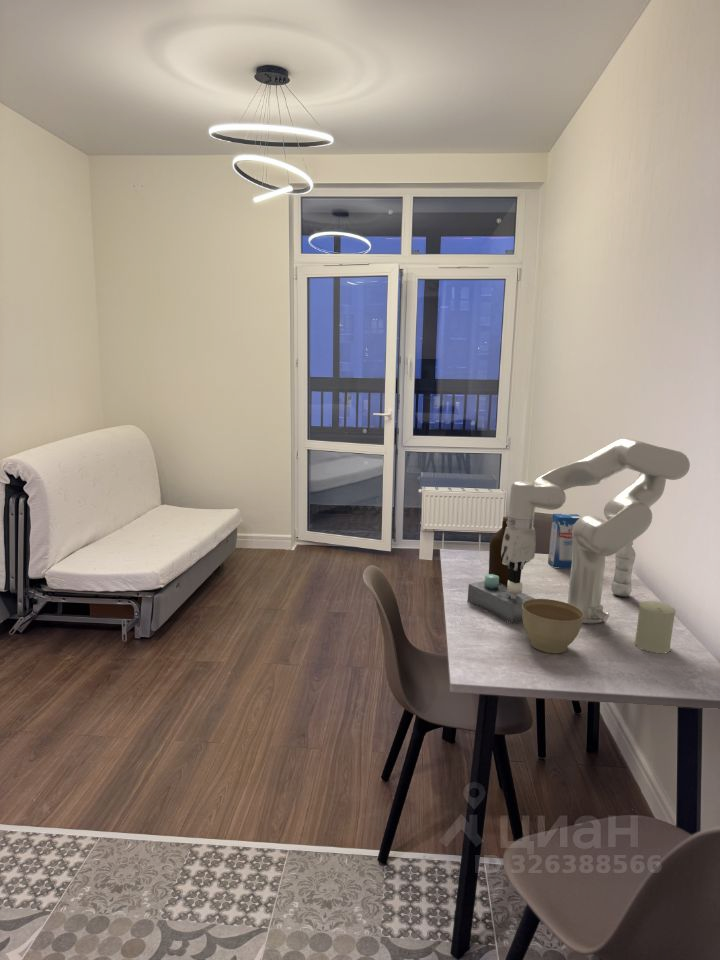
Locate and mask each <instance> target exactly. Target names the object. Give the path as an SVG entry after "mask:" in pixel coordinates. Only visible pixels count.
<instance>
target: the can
mask: <svg viewBox="0 0 720 960" xmlns="http://www.w3.org/2000/svg"><path fill="white" fill-rule="evenodd" d="M676 611H677V610H676V609H675V608H674V607H672V606H671V605H669V604H667V603H666V604H665V603H662V602H658V601H652V600H651V601H642V602H640V603H639V608H638V618H637V624H636V625H637V626H636V631H635V632H636V633H635V639H634V645H635V646H636V645H637V646H638V647H639V648H638V647H637V646H636V647H637V648H638V649H640V648H642V649H644V650H643V651H645V650H647V651H646V652H648V651H651V652H650V653H652V652H657V653H656V654H659V653H663V654H666V653H665V652H668V653H669V651H670V652H671V645H672V644H671V643H672V635H673V628H674V622H675V615H676ZM642 649H641V650H642Z"/></svg>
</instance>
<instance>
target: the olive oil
mask: <svg viewBox="0 0 720 960" xmlns="http://www.w3.org/2000/svg"><path fill="white" fill-rule="evenodd" d="M507 521H508V516H502V524H501V526H502V527H501V528H500V529H499V530H498V531H496V532H495V533H494V534H493V535H492V537H491V538H490V541H489V547H488V548H489V549H488V550H489V551H488V552H489V553H488V557H489V559H488V574H493V575H497V576H499V583H501V584H503V585H505V586H507V585H508V580H509V572H510V568H508V565H504V564H502V561H503V558H502V557H501V550H502V543H503V537H504V533H505V530H506V527H507V523H506V522H507Z"/></svg>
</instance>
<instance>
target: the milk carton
mask: <svg viewBox="0 0 720 960" xmlns="http://www.w3.org/2000/svg"><path fill="white" fill-rule="evenodd" d="M551 517H552V519H551V527H550V528H551V529H550V538H549V547H548V559H547V564H548V563H549V564H548V565H550V567H552V566H553V567H559V568H558V569H571V565H572V557H573V540H572V532H573V527H574V524H575V523H576V521H577V520H578V519H579V518H581V517H582V516H581V515H579V514H576V513H575V514H574V513H573V514H572V513H552V516H551ZM553 567H552V568H553Z"/></svg>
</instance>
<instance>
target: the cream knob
mask: <svg viewBox="0 0 720 960" xmlns="http://www.w3.org/2000/svg"><path fill="white" fill-rule="evenodd" d="M523 584H524V583H523V581H522V580H520V583H513V582H511V581H509V580H508V585H507V591H508V592H510V593H511V598H512V599H517V594H520V593H523Z"/></svg>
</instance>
